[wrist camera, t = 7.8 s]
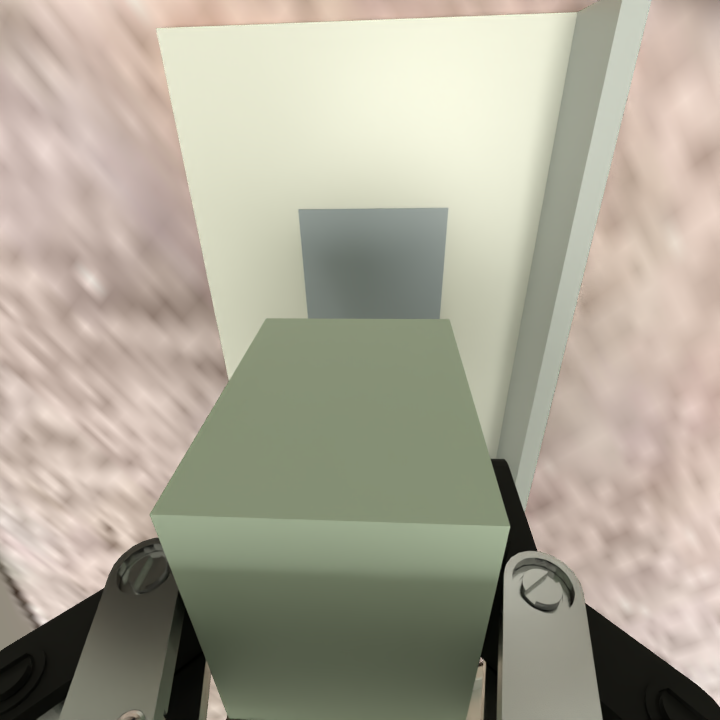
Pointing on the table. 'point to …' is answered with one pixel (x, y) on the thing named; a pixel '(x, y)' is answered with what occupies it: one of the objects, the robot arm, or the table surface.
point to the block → (339, 525)
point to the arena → (409, 182)
